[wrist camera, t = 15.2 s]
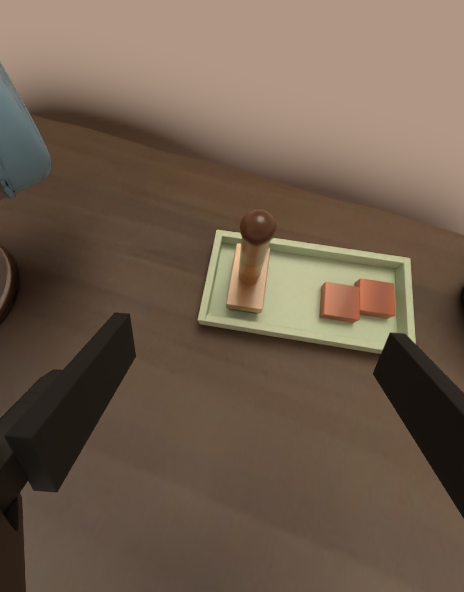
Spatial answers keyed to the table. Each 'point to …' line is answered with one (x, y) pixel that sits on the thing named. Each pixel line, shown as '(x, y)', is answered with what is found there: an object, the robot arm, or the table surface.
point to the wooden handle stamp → (251, 262)
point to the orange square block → (376, 298)
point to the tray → (309, 293)
